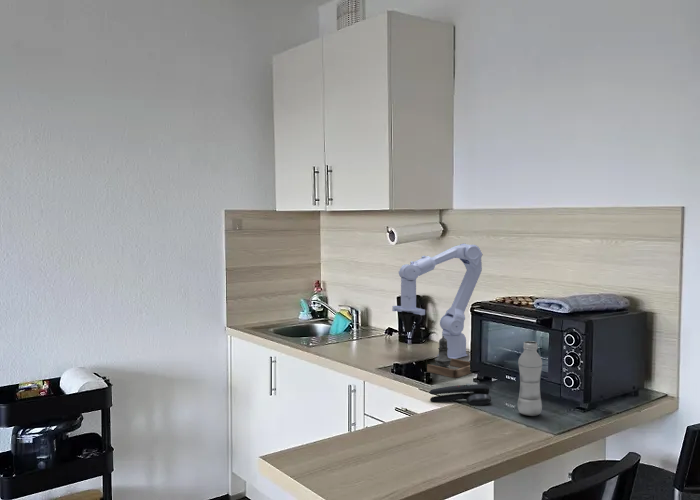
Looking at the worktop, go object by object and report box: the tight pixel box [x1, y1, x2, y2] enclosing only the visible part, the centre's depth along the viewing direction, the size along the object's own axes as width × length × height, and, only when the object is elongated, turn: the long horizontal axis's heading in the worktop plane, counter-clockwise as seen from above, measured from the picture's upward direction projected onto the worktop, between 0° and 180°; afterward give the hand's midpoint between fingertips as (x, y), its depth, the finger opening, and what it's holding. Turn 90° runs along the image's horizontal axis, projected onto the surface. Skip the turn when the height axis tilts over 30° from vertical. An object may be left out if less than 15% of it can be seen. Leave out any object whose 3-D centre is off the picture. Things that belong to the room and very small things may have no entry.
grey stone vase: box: [434, 336, 451, 369], centre depth 222 cm, size 6×6×12 cm
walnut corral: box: [426, 358, 472, 379], centre depth 220 cm, size 14×12×2 cm
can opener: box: [429, 383, 492, 406], centre depth 184 cm, size 18×7×6 cm, turn 84°
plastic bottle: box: [517, 340, 543, 417], centre depth 171 cm, size 6×7×20 cm
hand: (408, 332), depth 238 cm, fingers closed
